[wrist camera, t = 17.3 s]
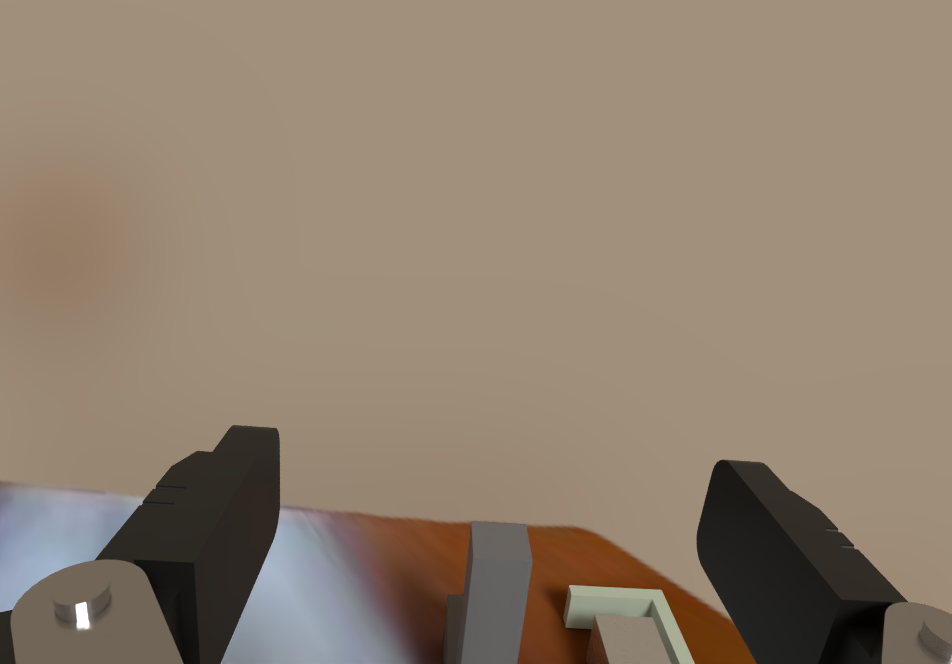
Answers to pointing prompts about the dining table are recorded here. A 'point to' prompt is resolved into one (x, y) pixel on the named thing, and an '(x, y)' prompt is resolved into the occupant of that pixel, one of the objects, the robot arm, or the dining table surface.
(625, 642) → the grey cube block
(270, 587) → the dining table surface
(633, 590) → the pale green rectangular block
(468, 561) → the gray t-shaped block
